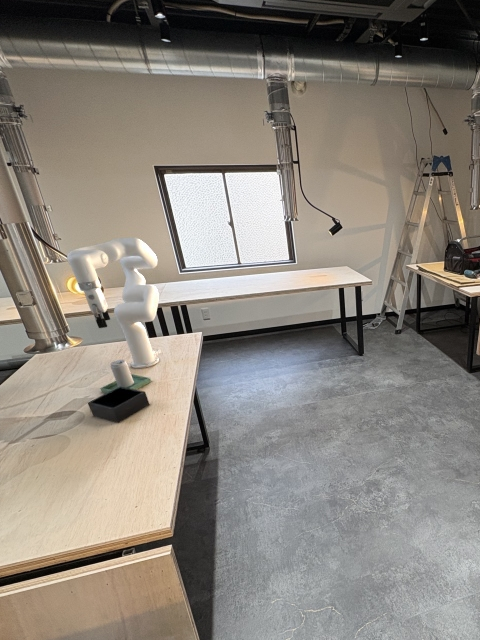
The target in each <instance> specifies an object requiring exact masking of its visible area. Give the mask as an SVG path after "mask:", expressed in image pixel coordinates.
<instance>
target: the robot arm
mask: <svg viewBox="0 0 480 640" xmlns="http://www.w3.org/2000/svg"><path fill="white" fill-rule="evenodd" d="M66 259H67V262H68V264H69V266H70V267H71V268H70V269H71V270H72V272H73V276H74V277H75V280H76V282H77V285H78V287H79V290H80V292H83V293H84V296H85V299H86V302H87V304H88V307H89V309H90V312H91V313H92V314H93V317H94V319H95V322H96V324H97V327H98V329H103V328H107V327H108V323H107V321H110V320H111V316H110V314H109V311H108V308H109V305H108V302H107V300H106V298H105V296H104V292H103V290H102V289H101V288H102V285H101V282H100V279H99V276H98V274H97V271H96V270H98V269H104V268H105V267H106V266H107V265H108V264H110V263H113V262H117V261H119V266H120V267H121V270H122V272H123V273H124V276H125V282H124V284H123V285H124V286H123V290H122V295H121V296H122V301H123V302H122V303H118V304H117V305H115V307H114V308H113V314H114V317H115V319H116V320H117V323H118V324H119V326H120V328H121V330H122V334H123V335H124V338H125V341H126V344H127V347H128V349H129V352H130V356H131V359H132V362H131V363H130V366H131V367H132V368H133V369H144V368H149V367H152V366H154V365H156V364H158V362H160V360H159V357H157V356H159V355H161V354H162V353H163V352H162V350H161V349H158V350H153V348H152V345H151V342H150V339H149V336H148V333H147V330H146V328H145V326H144V325H143V324H142V323H148V322H153V321H154V320H155V318H156V316H157V311H158V306H159V300H160V294H159V291H158V289H157V287H156V286H155V285H152V284H146V279H145V277H144V276H143V275H142V274H141V273H140V272H139V271H138V270H150V269H155V268H156V267H157V266H158V258H157V256H156V254H155V253H154V251H153V250H152V249H151V248H150V247H149V246H148V245H147V244H146V243H145V242H144V241H142V240H141V239H139V238H138V237H117V238H114V239H111V240H108V241H105V242H101V243H96V244H92V245H87V246H82V247H79V248H75V249H72V250H70V251H69V252H68V253H67V257H66Z"/></svg>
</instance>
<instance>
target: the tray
mask: <svg viewBox="0 0 480 640" xmlns="http://www.w3.org/2000/svg"><path fill="white" fill-rule="evenodd" d="M131 376H132V378H133V381H134V384H133V385H132V386H131V387H128V388H130V389H135V390H138V389H140V388H142V387H144V386H146V385H148V384H150V383H151V382H152V379H151V377H147V376H144V375H143V376H142V375H137V374H134V373H131ZM116 388H118V385H117V382H116V380H114V381H113V382H110V383H108V384H106V385H103V386H102V387H100V388H99V389H100V392H101V393H104V394H106V393H108V392H110V391H112V390H114V389H116Z"/></svg>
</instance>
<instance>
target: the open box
mask: <svg viewBox="0 0 480 640" xmlns="http://www.w3.org/2000/svg"><path fill="white" fill-rule="evenodd" d="M87 405H88V407H89V410H90V412H91V415H92V417H94V418H97V419H101V420H106V421H109V422H114V423H117V424H119V423H121V422H123V421H125V420H127V419H128V418H130V417H132V416H133V415H135V414H137V413H139V412H141V411H142V410H144V409H145V408H147V407H149V406H150V405H151V404H150V401H149V399H148V396H147V393H146V391H143V390H138V389H136V390H135V389H130V388H125V387H121V386H120V387H118V388H116V389H114V390H112V391H110V392H108V393H104V394H102V395H101V396H98V397H96V398H94V399H93V400H90V401H88V402H87Z"/></svg>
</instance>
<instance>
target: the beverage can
mask: <svg viewBox="0 0 480 640" xmlns="http://www.w3.org/2000/svg"><path fill="white" fill-rule="evenodd" d="M110 369H111V372H112V374H113V377H114V379H115V380H114V381H116V382H117V385H118V387H120V386H121V387H125V388H128V387H131V386H132V385H133V384H134V381H133V378H132V376H131V374H132V372H131V371H130V368H129V365H128V363H127V362H126V360H125V359H116V360H114V361H112V362H111V363H110Z"/></svg>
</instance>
